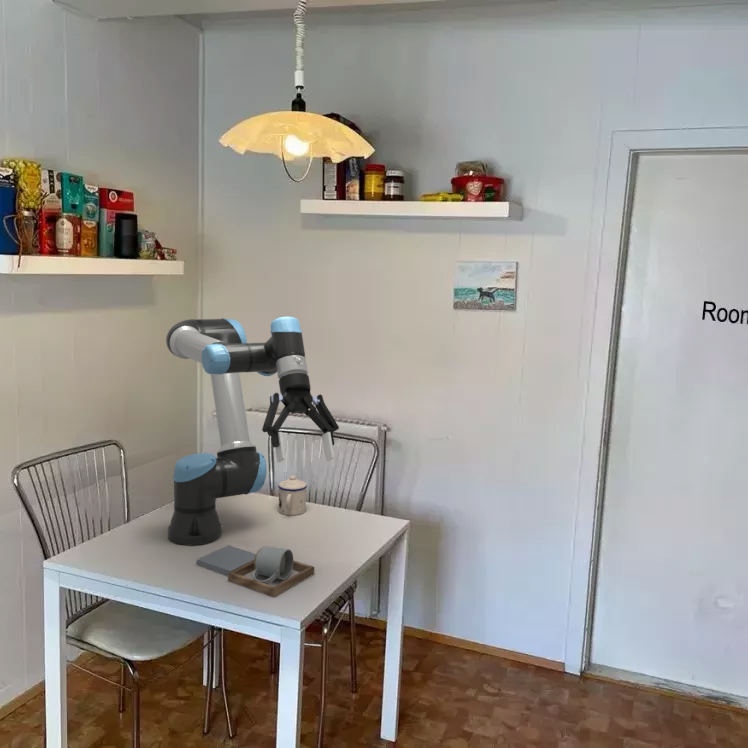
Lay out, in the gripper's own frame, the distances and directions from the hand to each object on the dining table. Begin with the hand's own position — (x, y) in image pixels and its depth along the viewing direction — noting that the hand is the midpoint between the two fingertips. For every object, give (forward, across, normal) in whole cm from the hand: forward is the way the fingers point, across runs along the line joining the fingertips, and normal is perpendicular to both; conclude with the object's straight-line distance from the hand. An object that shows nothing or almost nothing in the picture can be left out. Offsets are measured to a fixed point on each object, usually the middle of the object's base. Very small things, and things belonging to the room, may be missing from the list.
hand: (306, 460), depth 173 cm
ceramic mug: (+24, +1, +26) cm, 36 cm away
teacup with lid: (+2, +28, +58) cm, 65 cm away
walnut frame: (+23, +1, +26) cm, 35 cm away
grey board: (+17, -4, +38) cm, 42 cm away
